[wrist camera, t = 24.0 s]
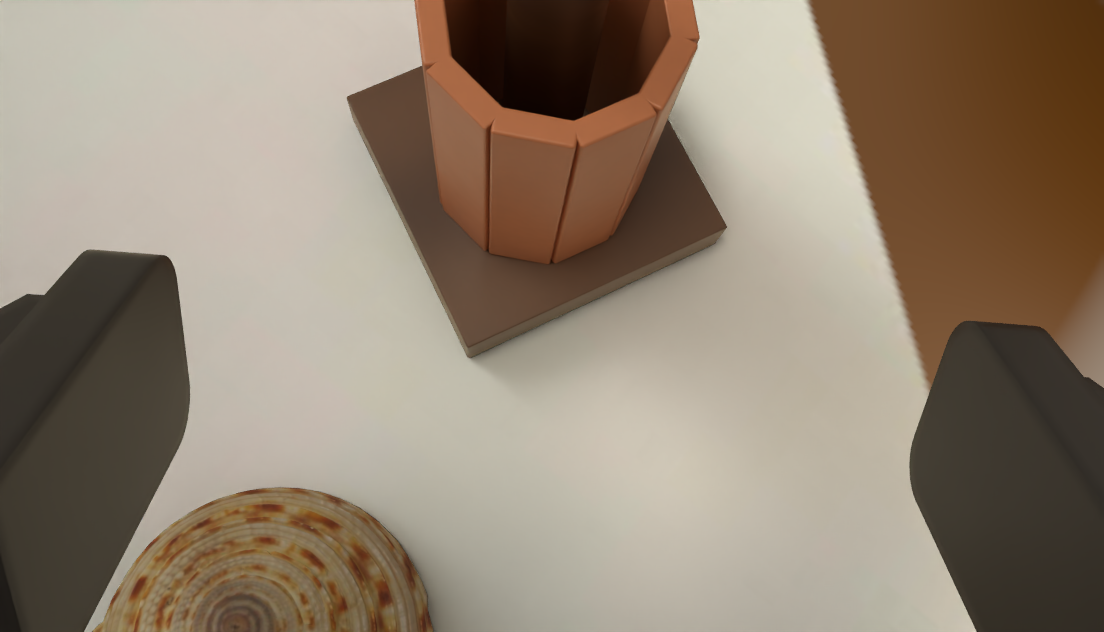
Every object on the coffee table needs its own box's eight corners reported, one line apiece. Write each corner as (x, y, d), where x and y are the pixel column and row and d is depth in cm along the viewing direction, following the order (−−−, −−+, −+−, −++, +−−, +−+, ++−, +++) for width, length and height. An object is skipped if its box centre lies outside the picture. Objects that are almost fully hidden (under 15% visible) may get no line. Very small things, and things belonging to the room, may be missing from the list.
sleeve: (400, 121, 28) (366, -49, 20) (584, 43, 28) (622, -147, 21) (485, 295, 27) (485, 189, 19) (674, 210, 27) (748, 75, 20)
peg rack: (352, 119, 29) (251, -214, 16) (593, 19, 30) (670, -361, 18) (468, 359, 28) (454, 195, 15) (715, 243, 29) (894, 3, 16)
